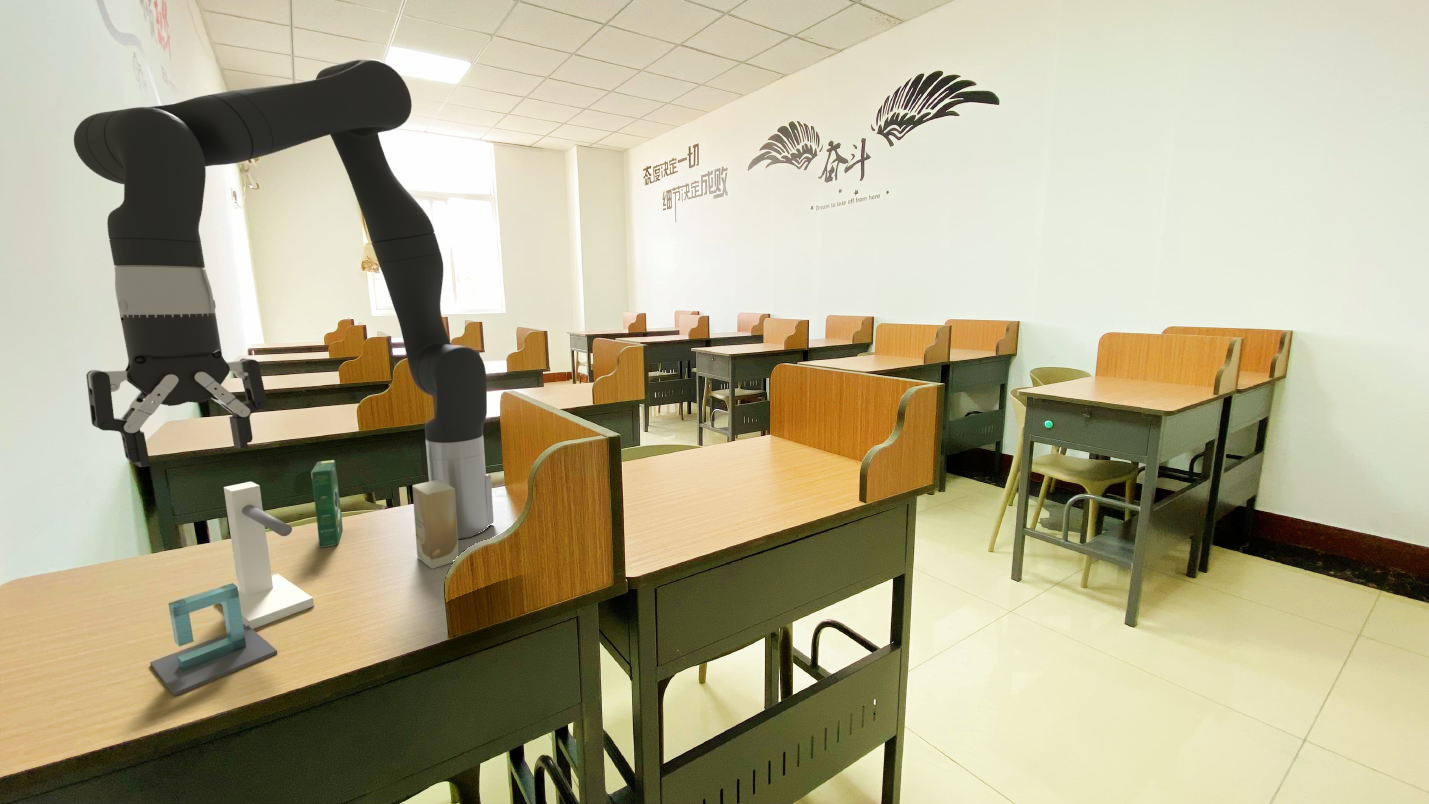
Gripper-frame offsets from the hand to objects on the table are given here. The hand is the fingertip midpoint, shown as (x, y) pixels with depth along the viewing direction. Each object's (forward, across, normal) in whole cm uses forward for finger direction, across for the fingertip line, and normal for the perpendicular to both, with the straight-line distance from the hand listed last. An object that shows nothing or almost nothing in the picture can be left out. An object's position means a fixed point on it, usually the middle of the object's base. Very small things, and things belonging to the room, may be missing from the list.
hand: (194, 456), depth 65 cm
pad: (+23, +2, +3) cm, 23 cm away
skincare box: (+24, -27, 0) cm, 36 cm away
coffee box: (+24, -22, -24) cm, 40 cm away
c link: (+23, +2, +3) cm, 23 cm away
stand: (+23, -6, -5) cm, 25 cm away
